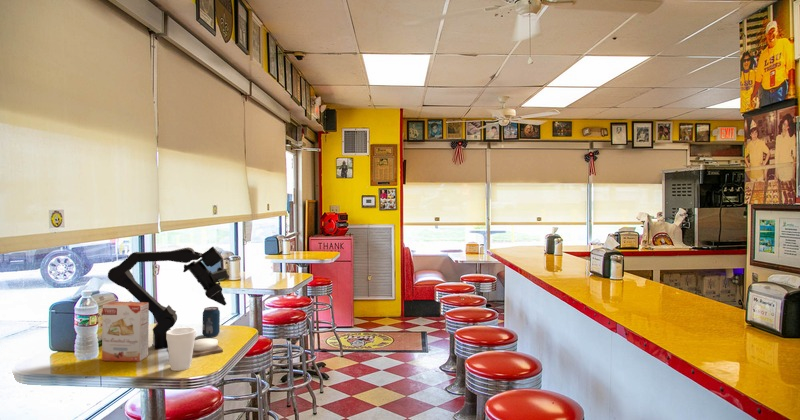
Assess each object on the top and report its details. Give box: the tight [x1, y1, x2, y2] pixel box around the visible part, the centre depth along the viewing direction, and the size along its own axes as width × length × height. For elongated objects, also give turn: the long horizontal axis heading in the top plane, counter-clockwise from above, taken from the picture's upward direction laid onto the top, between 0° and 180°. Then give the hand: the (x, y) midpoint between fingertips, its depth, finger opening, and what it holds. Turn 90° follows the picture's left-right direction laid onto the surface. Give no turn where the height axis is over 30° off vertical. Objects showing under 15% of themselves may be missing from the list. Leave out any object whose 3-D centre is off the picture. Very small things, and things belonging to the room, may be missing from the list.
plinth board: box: [192, 337, 224, 359], centre depth 175 cm, size 16×16×3 cm
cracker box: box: [101, 300, 150, 362], centre depth 164 cm, size 14×6×21 cm, turn 89°
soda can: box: [201, 306, 221, 338], centre depth 195 cm, size 7×7×12 cm
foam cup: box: [166, 326, 197, 372], centre depth 156 cm, size 10×9×13 cm
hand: (224, 302), depth 188 cm, fingers open, 9 cm apart
